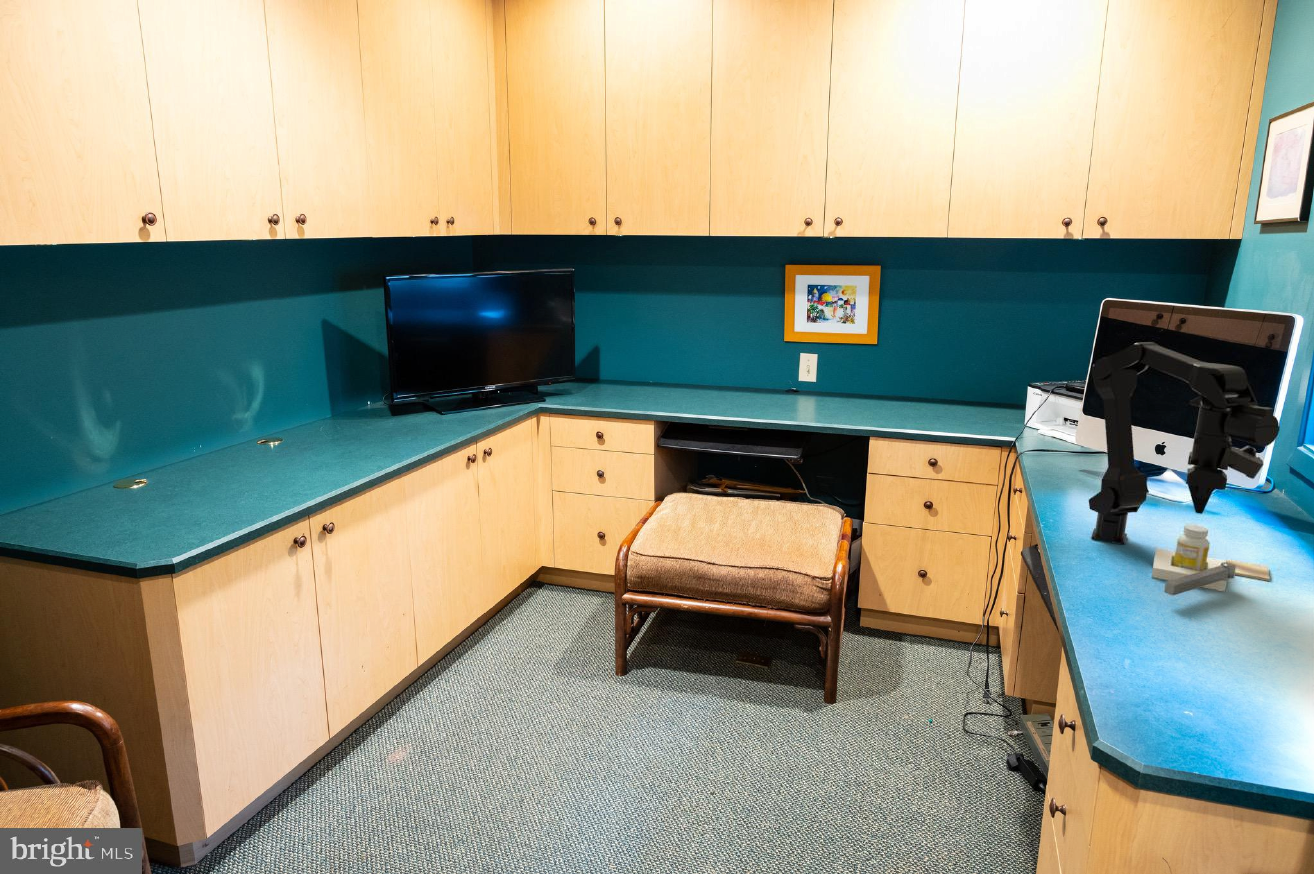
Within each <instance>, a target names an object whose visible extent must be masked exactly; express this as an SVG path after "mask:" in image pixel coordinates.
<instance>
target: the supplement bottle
mask: <svg viewBox="0 0 1314 874" xmlns="http://www.w3.org/2000/svg"><path fill="white" fill-rule="evenodd" d="M1182 531H1183V534H1181V535H1179V536H1178V538H1177V542H1176V547H1175V548H1176V549H1175V558H1174V563H1173V565H1172V566H1175V567H1180V568H1185V569H1190V570H1196V571H1204V570H1205V566H1206V561H1207V557H1208V555H1209V550H1210V544H1211V543H1210V541H1209V539H1208V538H1207V537H1208V535H1209V529H1208V528H1207V527H1205V526H1203V525H1198V524H1193V523H1189V524H1185V525H1184V526H1183V530H1182Z"/></svg>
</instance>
